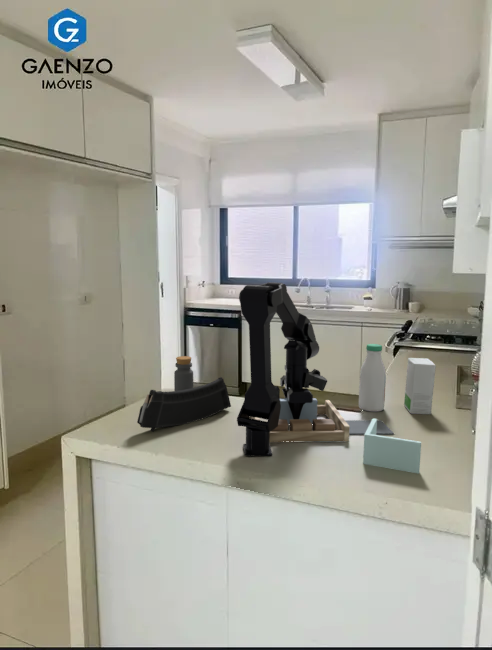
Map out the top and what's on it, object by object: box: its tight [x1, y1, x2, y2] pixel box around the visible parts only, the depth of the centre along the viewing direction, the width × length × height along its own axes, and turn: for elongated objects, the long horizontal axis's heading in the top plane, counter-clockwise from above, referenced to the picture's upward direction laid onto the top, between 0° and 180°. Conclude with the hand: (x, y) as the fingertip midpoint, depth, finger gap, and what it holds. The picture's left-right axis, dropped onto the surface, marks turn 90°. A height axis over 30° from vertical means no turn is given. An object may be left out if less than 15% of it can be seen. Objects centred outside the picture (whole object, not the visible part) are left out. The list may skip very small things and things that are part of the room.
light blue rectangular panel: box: [279, 397, 319, 424], centre depth 134 cm, size 2×12×7 cm, turn 93°
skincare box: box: [403, 357, 437, 415], centre depth 147 cm, size 8×7×16 cm
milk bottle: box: [358, 343, 387, 412], centre depth 148 cm, size 8×8×20 cm
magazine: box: [137, 376, 232, 432], centre depth 136 cm, size 17×3×30 cm
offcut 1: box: [272, 419, 289, 431], centre depth 125 cm, size 4×5×4 cm
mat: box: [344, 419, 395, 436], centre depth 132 cm, size 10×13×1 cm
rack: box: [251, 399, 350, 443], centre depth 132 cm, size 22×23×4 cm
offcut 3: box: [312, 418, 336, 431], centre depth 125 cm, size 4×5×4 cm
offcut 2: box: [288, 419, 312, 431], centre depth 125 cm, size 4×5×4 cm
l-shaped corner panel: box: [362, 418, 422, 474], centre depth 112 cm, size 12×12×8 cm
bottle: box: [173, 355, 194, 391], centre depth 150 cm, size 6×6×15 cm
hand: (294, 418), depth 135 cm, fingers open, 5 cm apart
